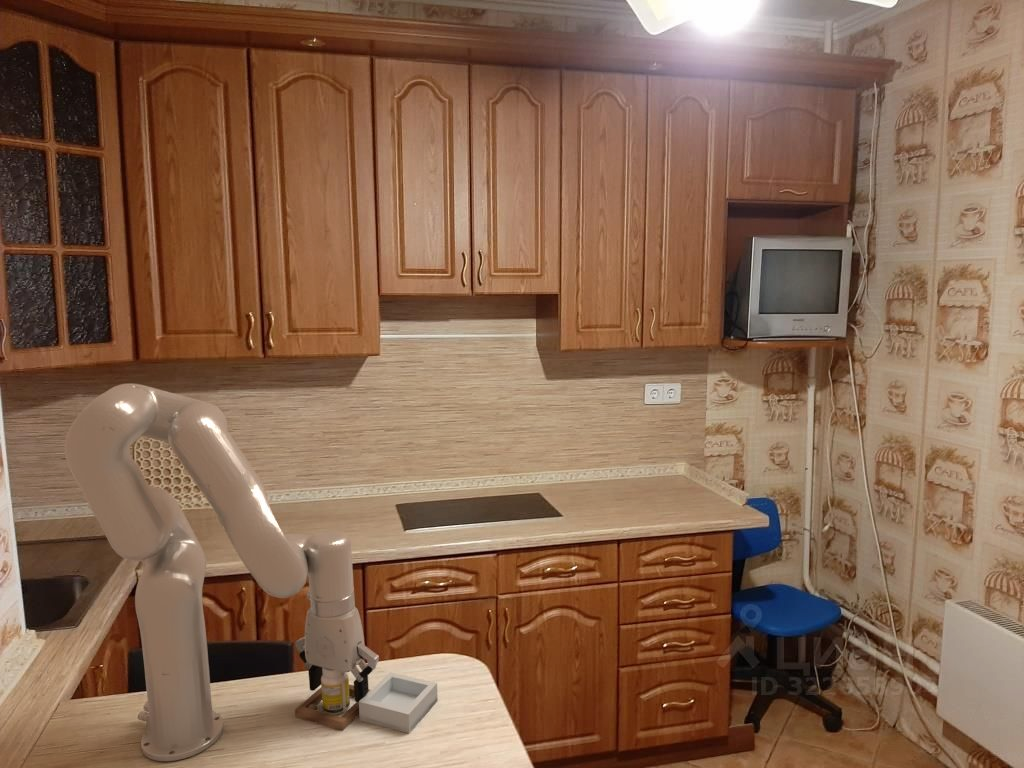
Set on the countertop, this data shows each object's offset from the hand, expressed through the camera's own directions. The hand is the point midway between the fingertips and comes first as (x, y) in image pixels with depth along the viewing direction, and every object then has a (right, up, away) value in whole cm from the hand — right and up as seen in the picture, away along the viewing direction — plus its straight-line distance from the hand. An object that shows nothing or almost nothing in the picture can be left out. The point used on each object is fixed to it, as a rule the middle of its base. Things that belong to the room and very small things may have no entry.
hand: (339, 692), depth 127 cm
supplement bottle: (-1, -3, 0) cm, 3 cm away
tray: (-1, -3, 0) cm, 3 cm away
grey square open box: (+11, -3, -1) cm, 11 cm away
